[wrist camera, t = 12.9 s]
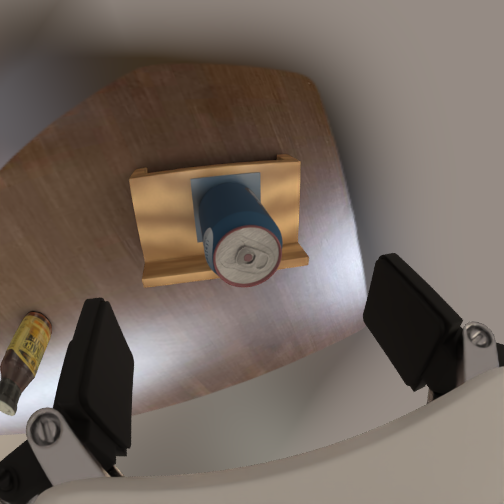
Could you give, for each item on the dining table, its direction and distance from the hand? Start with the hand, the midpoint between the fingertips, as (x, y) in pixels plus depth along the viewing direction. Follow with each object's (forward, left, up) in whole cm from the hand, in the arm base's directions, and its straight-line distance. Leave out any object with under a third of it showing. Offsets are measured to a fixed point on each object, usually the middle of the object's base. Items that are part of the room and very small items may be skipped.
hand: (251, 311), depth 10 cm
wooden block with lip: (+7, +1, -30) cm, 31 cm away
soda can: (+6, +2, -25) cm, 26 cm away
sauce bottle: (+24, -34, -31) cm, 51 cm away
